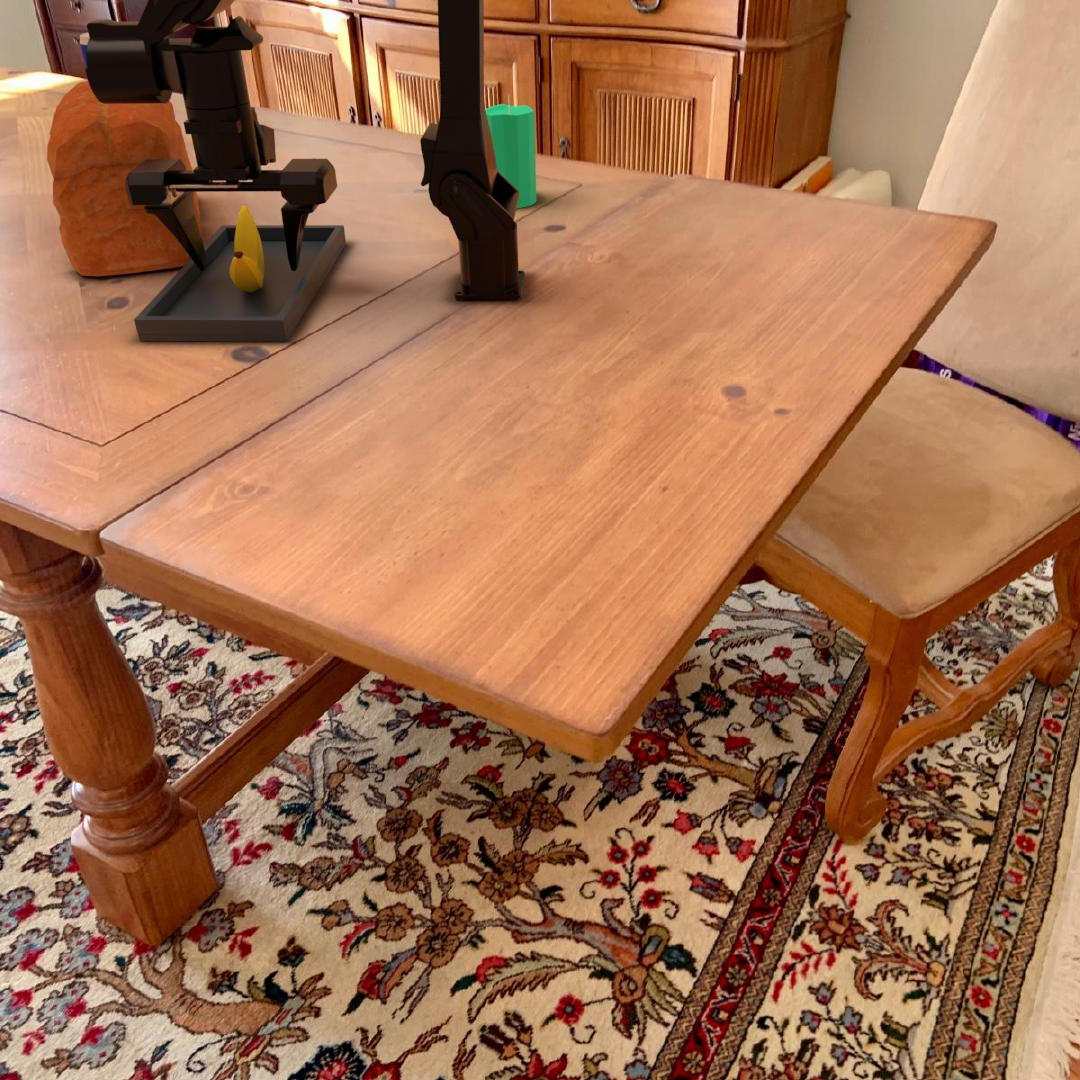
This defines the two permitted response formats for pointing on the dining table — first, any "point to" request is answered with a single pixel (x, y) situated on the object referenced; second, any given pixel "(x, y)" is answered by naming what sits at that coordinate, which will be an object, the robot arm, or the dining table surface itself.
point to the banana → (247, 254)
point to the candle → (515, 147)
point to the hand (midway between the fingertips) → (249, 269)
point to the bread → (111, 183)
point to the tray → (234, 315)
